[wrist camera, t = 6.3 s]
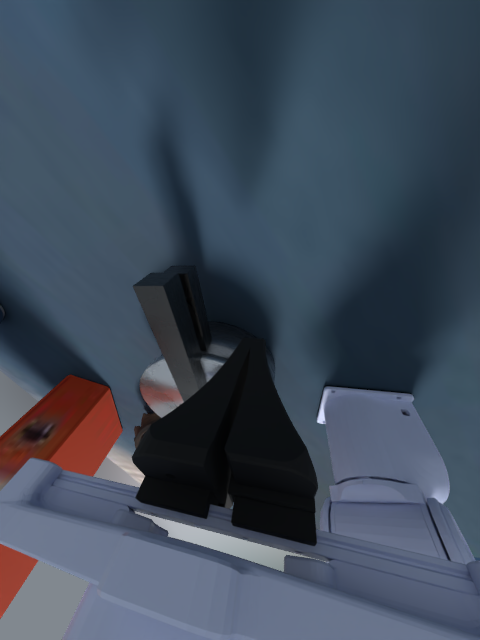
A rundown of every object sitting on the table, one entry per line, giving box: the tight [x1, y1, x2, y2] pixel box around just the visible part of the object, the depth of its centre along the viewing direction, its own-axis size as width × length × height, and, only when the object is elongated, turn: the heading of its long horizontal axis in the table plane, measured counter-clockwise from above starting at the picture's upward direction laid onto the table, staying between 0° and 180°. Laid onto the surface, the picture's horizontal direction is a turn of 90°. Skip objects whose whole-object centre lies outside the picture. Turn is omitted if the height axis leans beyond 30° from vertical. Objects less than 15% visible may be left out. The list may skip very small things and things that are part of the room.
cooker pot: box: [161, 265, 275, 382], centre depth 23 cm, size 24×14×5 cm, turn 5°
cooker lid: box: [133, 272, 227, 418], centre depth 19 cm, size 22×15×2 cm, turn 6°
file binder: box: [0, 375, 123, 618], centre depth 28 cm, size 8×17×32 cm, turn 167°
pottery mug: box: [134, 413, 161, 449], centre depth 36 cm, size 12×10×8 cm
